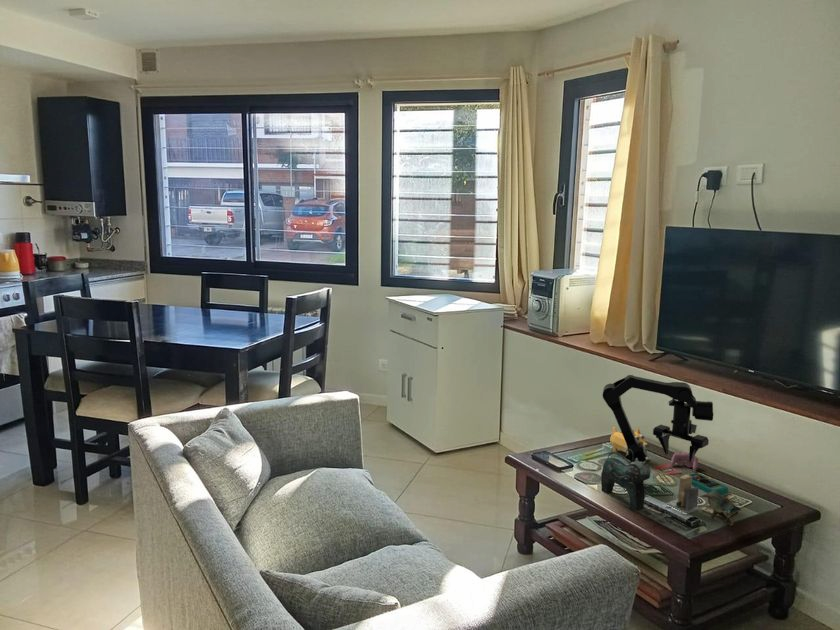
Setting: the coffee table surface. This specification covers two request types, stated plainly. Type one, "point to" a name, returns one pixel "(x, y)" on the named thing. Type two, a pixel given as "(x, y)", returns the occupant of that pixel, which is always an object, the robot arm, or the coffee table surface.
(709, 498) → the bird figurine
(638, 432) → the dog
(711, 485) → the digital multimeter
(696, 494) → the gauge base
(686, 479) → the light brown wooden block
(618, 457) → the green animal figurine
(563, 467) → the coffee table surface
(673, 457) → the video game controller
